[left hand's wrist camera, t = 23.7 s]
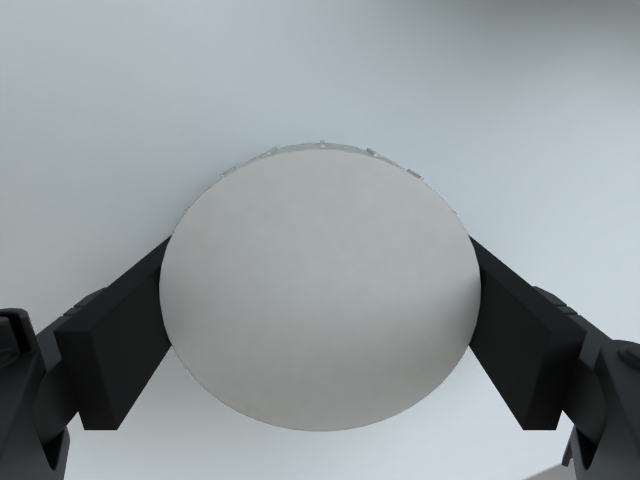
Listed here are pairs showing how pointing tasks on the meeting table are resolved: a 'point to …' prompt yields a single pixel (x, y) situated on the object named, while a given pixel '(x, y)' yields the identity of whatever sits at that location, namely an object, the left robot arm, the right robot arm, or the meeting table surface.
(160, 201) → the meeting table surface
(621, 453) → the left robot arm
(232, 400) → the lid
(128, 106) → the meeting table surface
